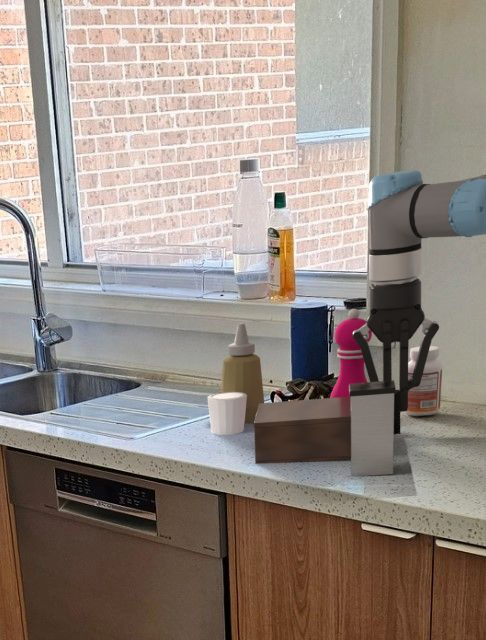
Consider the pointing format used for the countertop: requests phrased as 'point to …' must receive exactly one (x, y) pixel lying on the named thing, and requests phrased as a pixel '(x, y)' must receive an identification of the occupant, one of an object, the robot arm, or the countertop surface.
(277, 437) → the cabinet
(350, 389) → the white rectangular block
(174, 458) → the countertop surface
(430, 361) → the pill bottle
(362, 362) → the pepper mill
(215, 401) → the white tapered cup
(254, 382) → the squeeze bottle
